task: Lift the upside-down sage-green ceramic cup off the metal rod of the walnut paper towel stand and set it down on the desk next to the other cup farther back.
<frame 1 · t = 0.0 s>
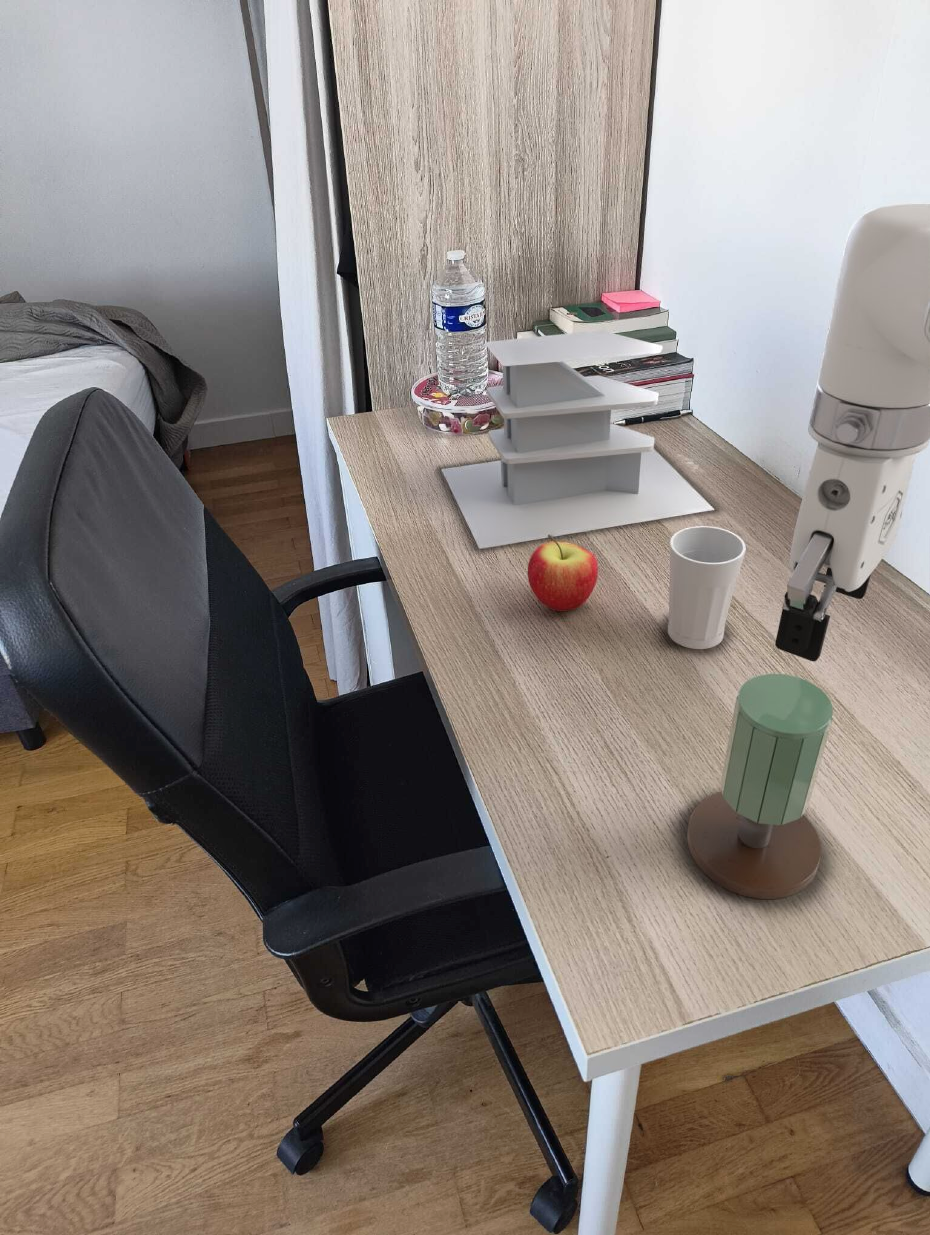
hand: (821, 621, 66), 20 cm above the table, tool pointing down, fingers open, 9 cm apart
green cup: (764, 792, 69), point 7 cm above the table, touching towel stand
apple: (561, 604, 104), on the table
towel stand: (751, 845, 73), on the table
file organizer: (569, 489, 129), on the table
cup: (695, 633, 98), on the table
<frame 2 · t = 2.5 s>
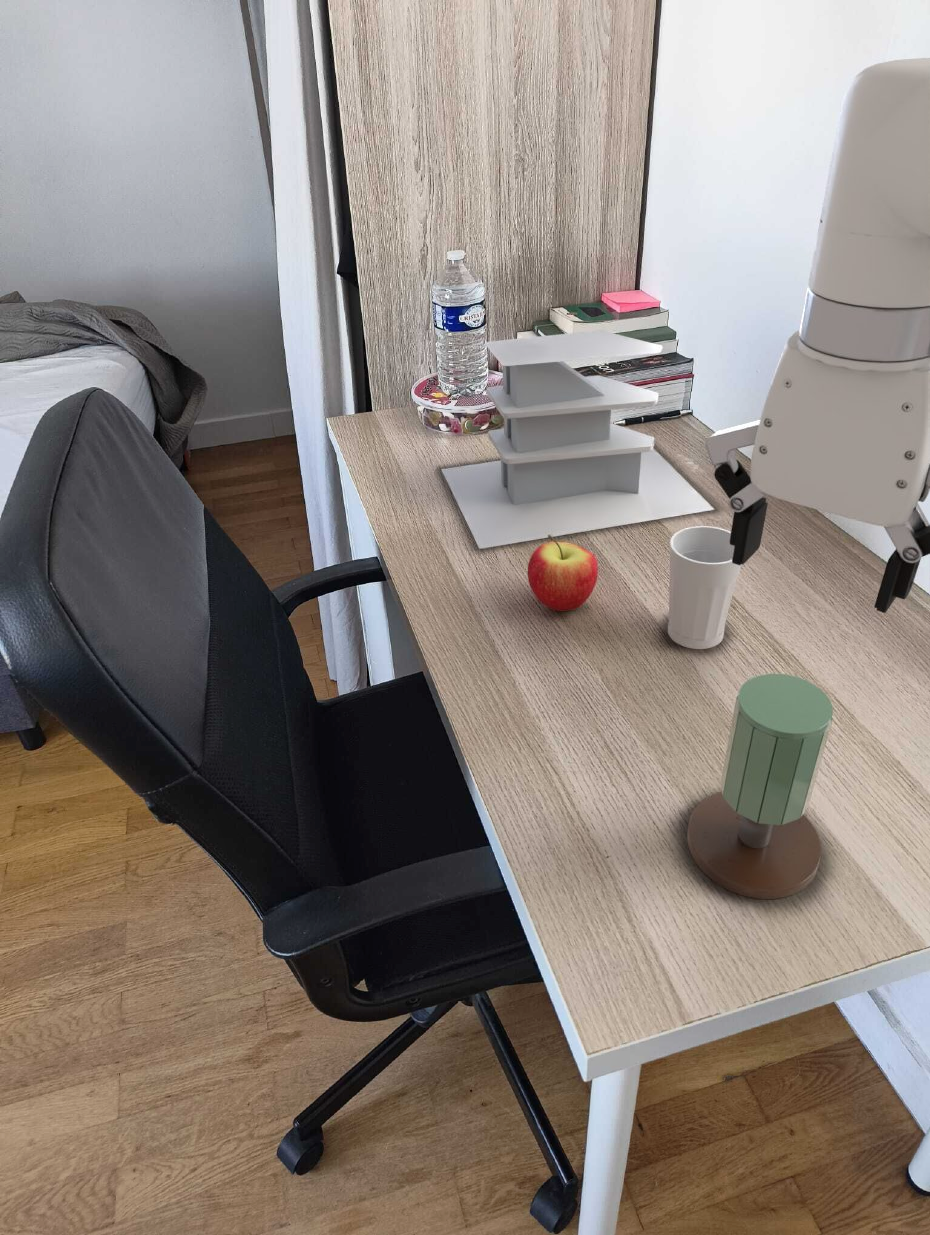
hand: (813, 578, 57), 28 cm above the table, tool pointing down, fingers open, 9 cm apart
nothing on the table moved.
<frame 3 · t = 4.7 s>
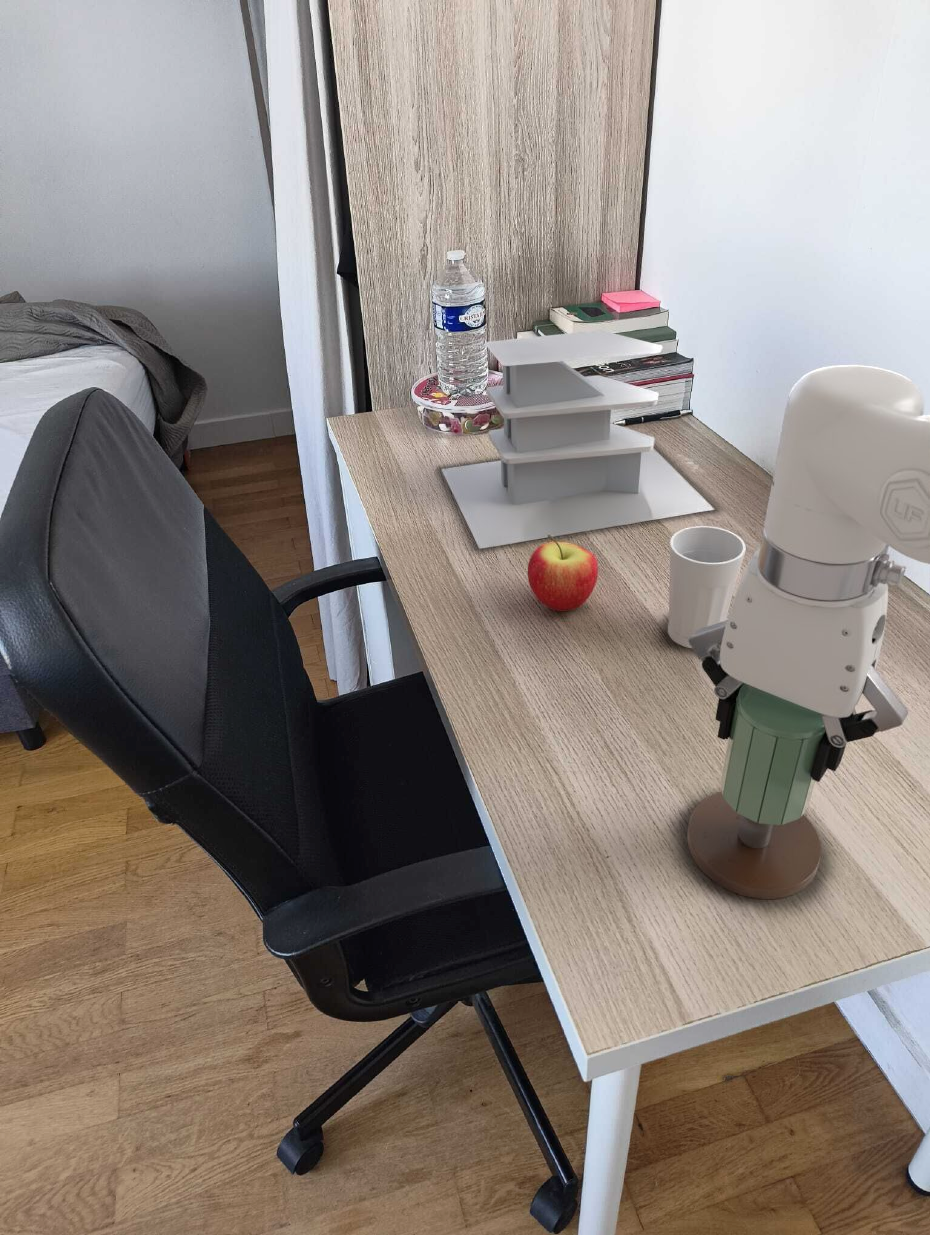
hand: (774, 747, 66), 12 cm above the table, tool pointing down, fingers closed on green cup, 6 cm apart
green cup: (764, 792, 69), point 7 cm above the table, touching gripper, towel stand
everything else where it was.
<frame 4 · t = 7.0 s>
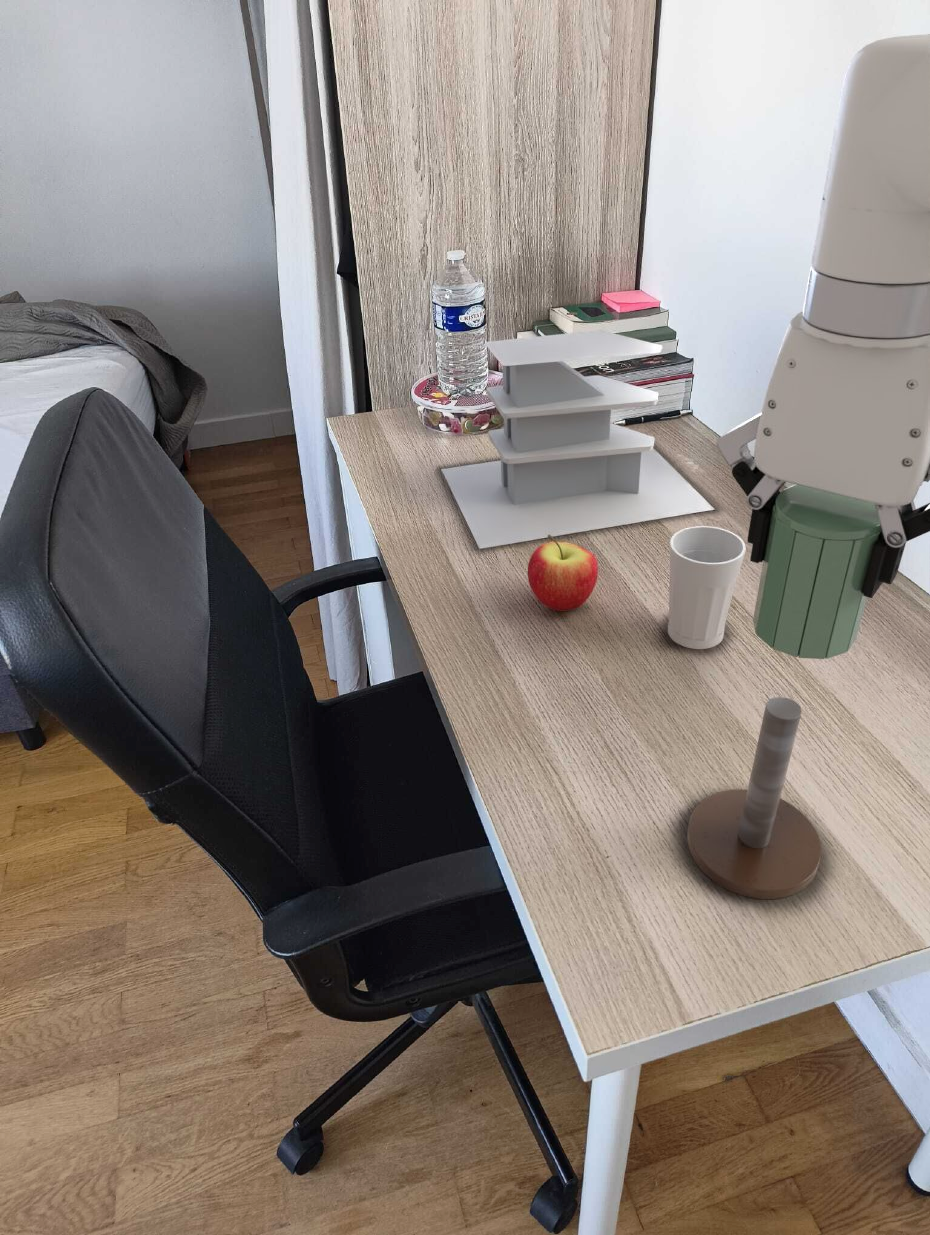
hand: (816, 568, 57), 28 cm above the table, tool pointing down, fingers closed on green cup, 6 cm apart
green cup: (803, 629, 60), point 23 cm above the table, touching gripper
everything else where it was.
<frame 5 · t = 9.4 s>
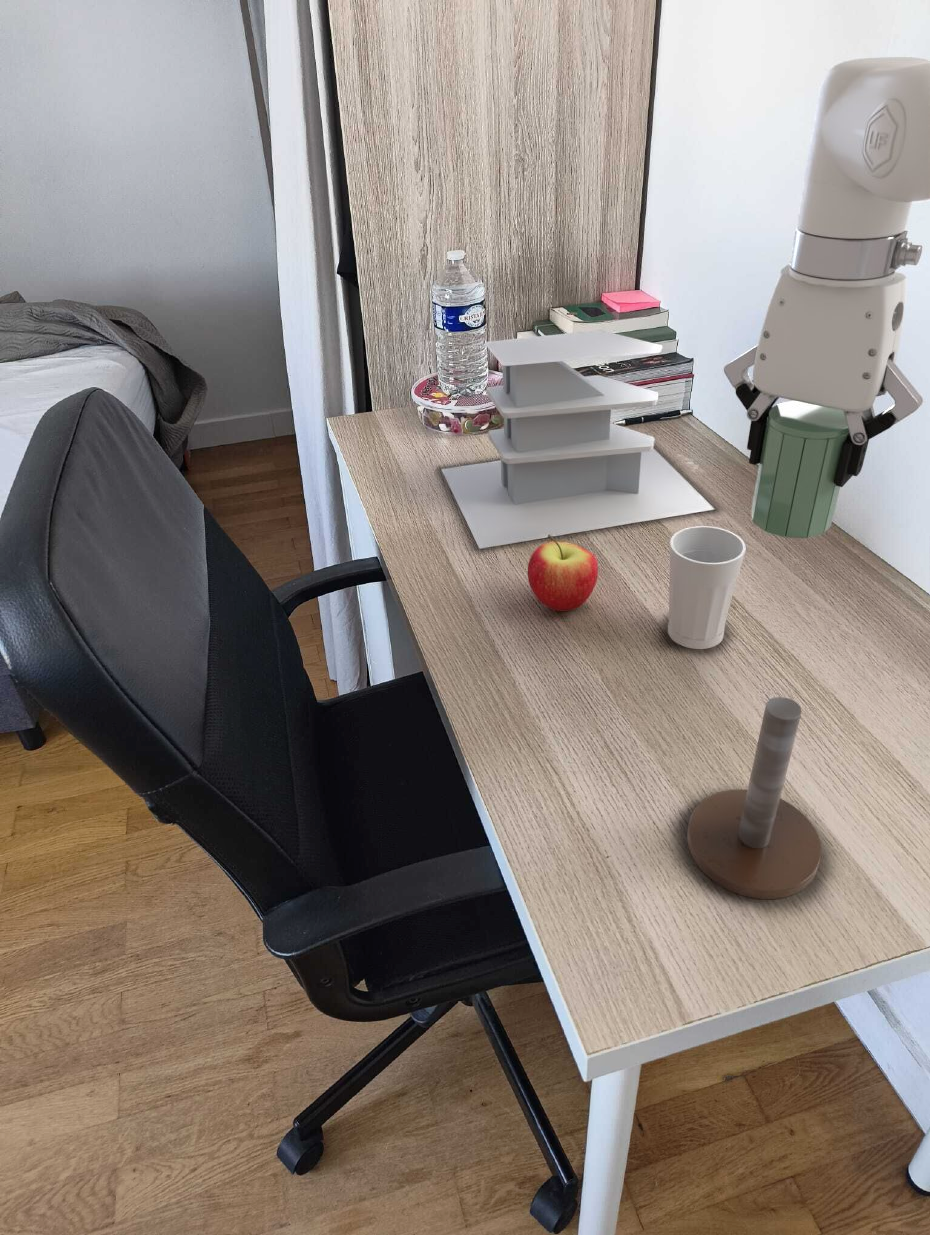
hand: (800, 467, 74), 26 cm above the table, tool pointing down, fingers closed on green cup, 6 cm apart
green cup: (790, 519, 77), point 21 cm above the table, touching gripper
everything else where it was.
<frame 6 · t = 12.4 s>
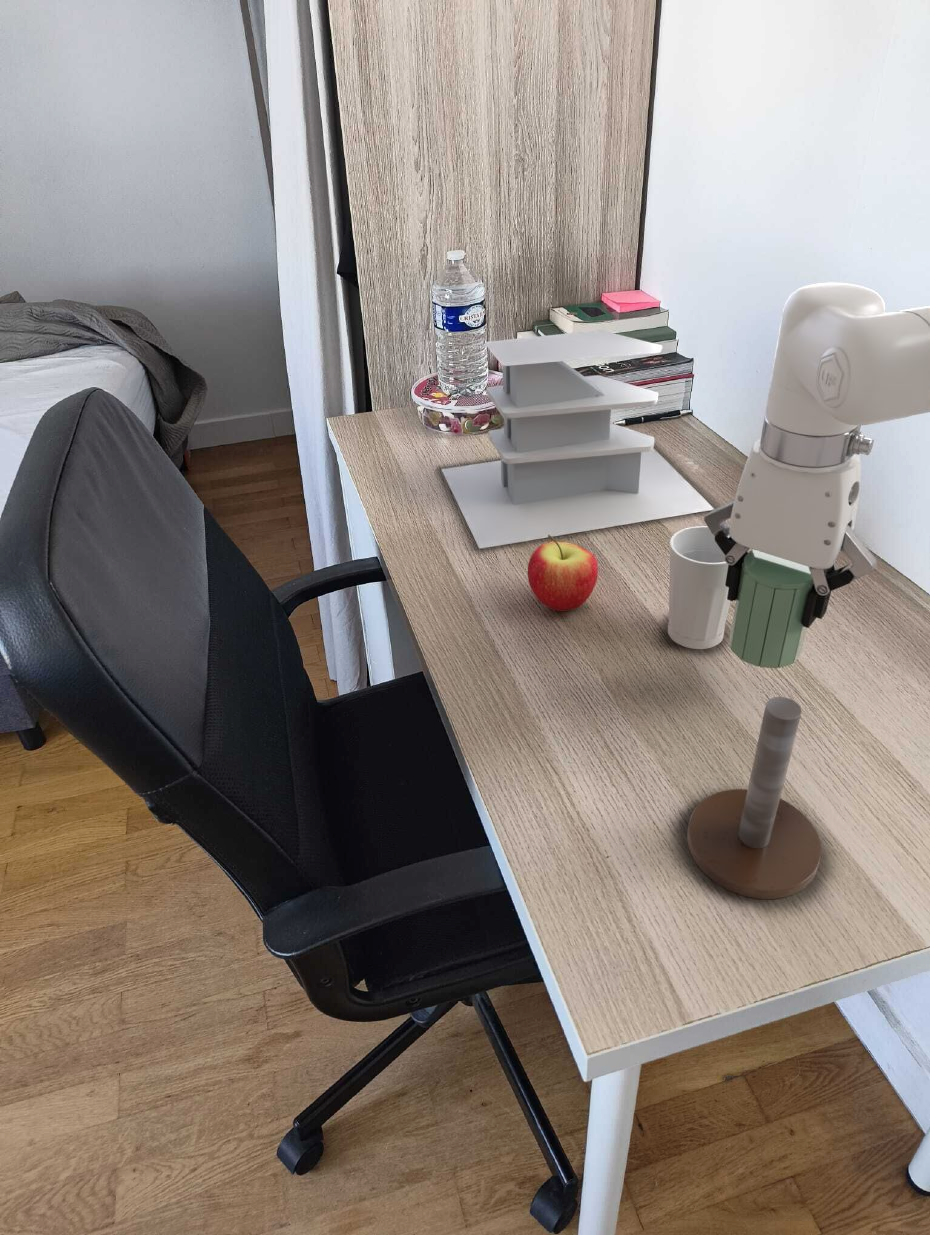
hand: (772, 605, 83), 11 cm above the table, tool pointing down, fingers closed on green cup, 6 cm apart
green cup: (764, 646, 86), point 6 cm above the table, touching gripper
everything else where it was.
when the fingers open (5 cm above the table, at t = 14.4 s): green cup stays where it is, on the table.
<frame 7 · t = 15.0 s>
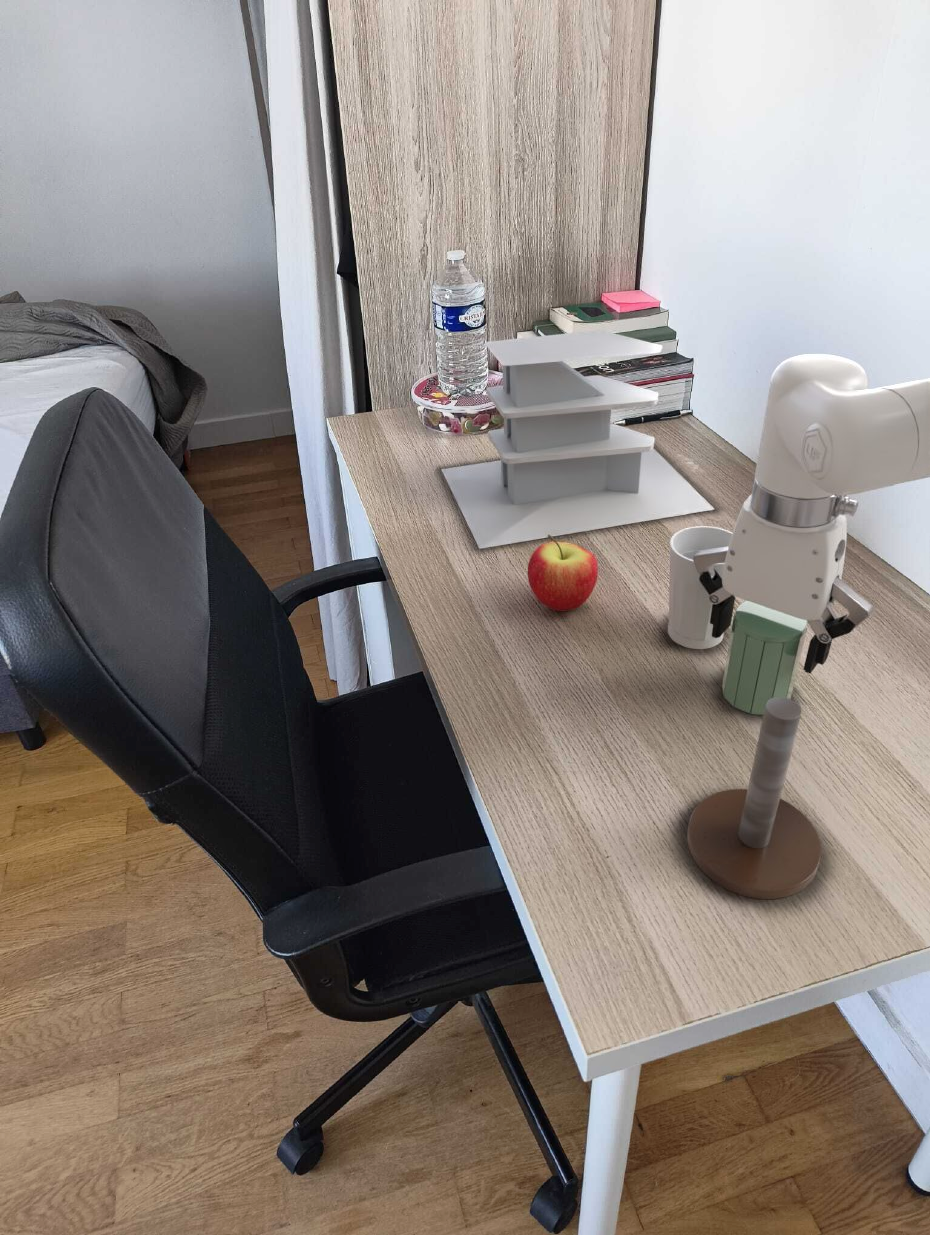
hand: (765, 647, 86), 6 cm above the table, tool pointing down, fingers open, 9 cm apart
green cup: (755, 692, 89), on the table
everything else where it was.
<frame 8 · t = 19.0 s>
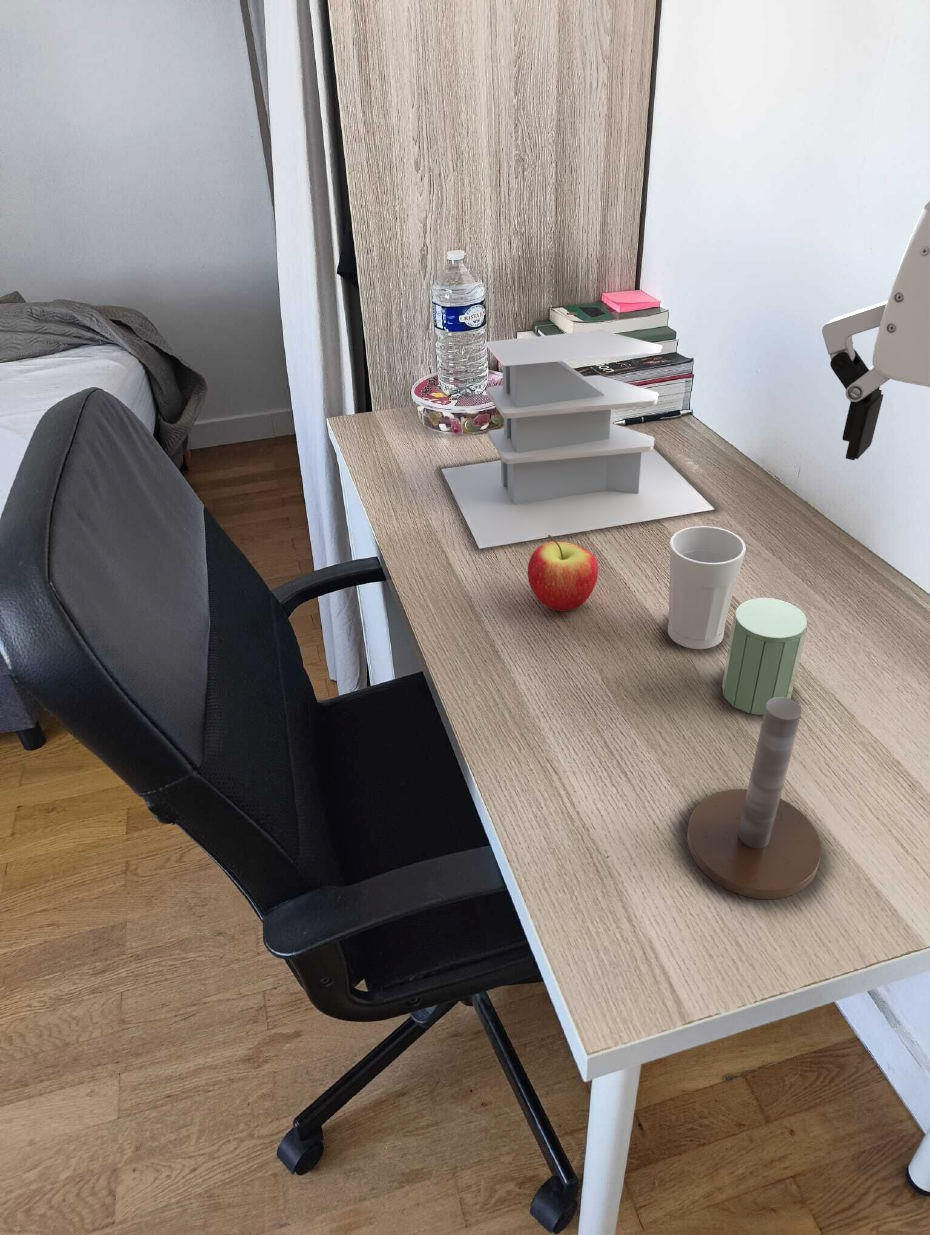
nothing on the table moved.
at the end: green cup 11.6 cm from the cup (horizontally); green cup on the table; green cup tilted 0° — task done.
